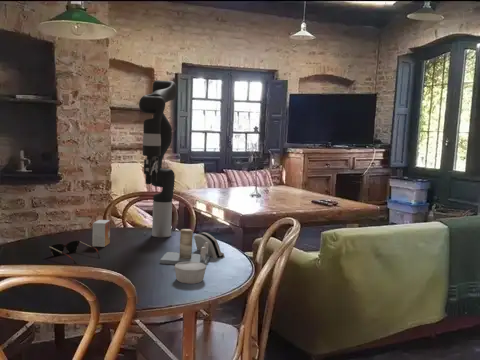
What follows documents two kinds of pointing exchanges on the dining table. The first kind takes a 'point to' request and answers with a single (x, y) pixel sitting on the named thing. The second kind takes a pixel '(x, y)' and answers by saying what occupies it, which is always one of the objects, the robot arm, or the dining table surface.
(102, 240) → the small box
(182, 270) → the ramekin
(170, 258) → the pad
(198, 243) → the grey half-round upright piece
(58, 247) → the sunglasses
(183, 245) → the birch pin
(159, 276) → the dining table surface
